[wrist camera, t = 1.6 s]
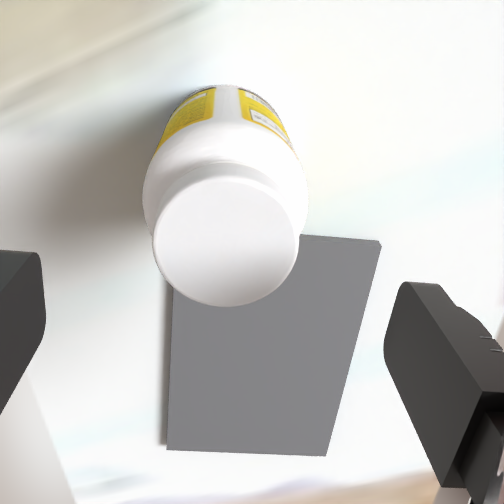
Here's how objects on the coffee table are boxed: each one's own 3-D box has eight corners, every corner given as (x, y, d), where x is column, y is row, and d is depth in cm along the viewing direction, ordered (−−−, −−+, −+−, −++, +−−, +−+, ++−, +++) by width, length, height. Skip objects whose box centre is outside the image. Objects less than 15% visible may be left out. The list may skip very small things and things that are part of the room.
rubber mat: (177, 224, 23) (176, 229, 23) (378, 240, 24) (381, 246, 23) (167, 442, 30) (166, 449, 29) (323, 448, 31) (325, 456, 30)
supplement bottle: (164, 198, 22) (124, 323, 14) (165, 77, 20) (118, 136, 11) (278, 206, 23) (309, 332, 14) (293, 89, 20) (342, 154, 12)
